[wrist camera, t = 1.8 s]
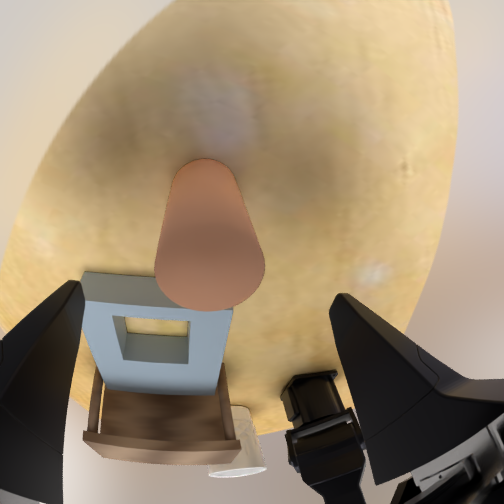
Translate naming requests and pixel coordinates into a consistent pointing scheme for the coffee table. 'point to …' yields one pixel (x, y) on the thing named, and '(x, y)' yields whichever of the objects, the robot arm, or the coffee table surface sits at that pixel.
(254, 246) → the peg
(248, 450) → the white cup
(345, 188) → the coffee table surface
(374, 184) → the coffee table surface
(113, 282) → the socket block
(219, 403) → the brown wooden table shape
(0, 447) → the robot arm
